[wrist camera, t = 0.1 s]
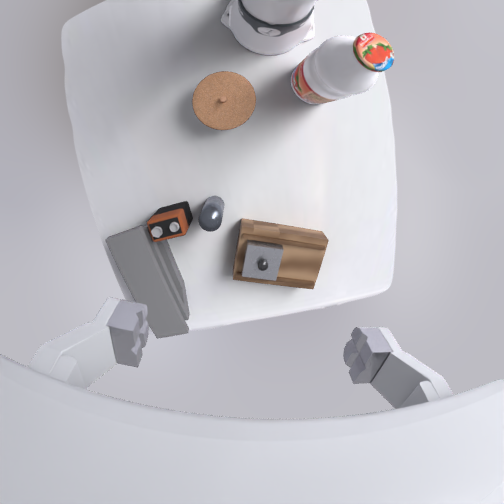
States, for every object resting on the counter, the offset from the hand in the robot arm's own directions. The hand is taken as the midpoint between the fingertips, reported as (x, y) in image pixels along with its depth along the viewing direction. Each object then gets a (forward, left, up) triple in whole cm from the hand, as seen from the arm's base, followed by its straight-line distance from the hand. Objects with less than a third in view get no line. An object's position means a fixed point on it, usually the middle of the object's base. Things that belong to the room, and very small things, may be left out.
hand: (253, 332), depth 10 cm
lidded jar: (-12, -5, -48) cm, 50 cm away
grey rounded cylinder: (+9, -4, -48) cm, 49 cm away
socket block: (+17, +11, -48) cm, 52 cm away
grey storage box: (+25, -15, -48) cm, 56 cm away
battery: (+12, -12, -48) cm, 51 cm away
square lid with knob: (+17, +7, -43) cm, 47 cm away
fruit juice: (-20, +11, -48) cm, 53 cm away
